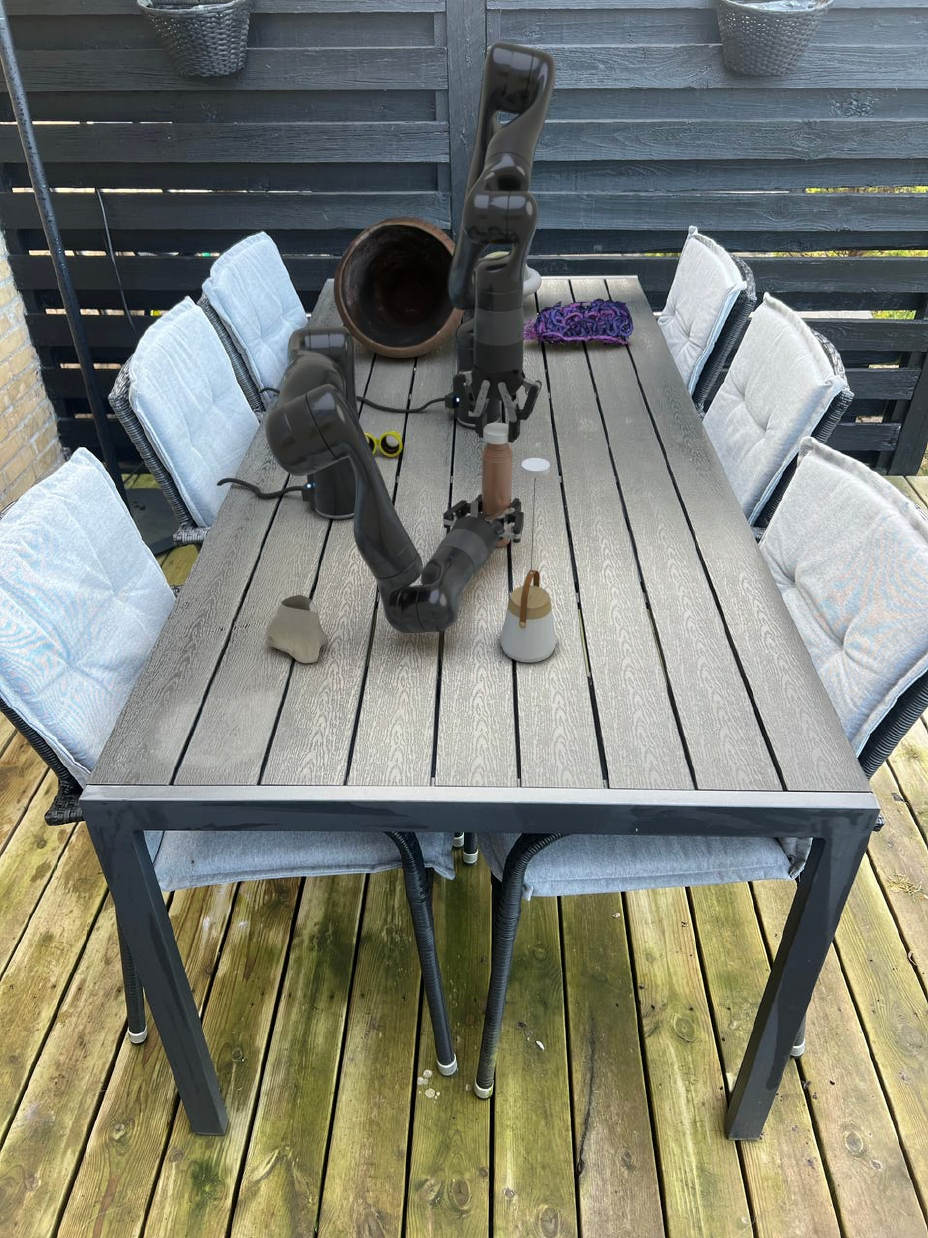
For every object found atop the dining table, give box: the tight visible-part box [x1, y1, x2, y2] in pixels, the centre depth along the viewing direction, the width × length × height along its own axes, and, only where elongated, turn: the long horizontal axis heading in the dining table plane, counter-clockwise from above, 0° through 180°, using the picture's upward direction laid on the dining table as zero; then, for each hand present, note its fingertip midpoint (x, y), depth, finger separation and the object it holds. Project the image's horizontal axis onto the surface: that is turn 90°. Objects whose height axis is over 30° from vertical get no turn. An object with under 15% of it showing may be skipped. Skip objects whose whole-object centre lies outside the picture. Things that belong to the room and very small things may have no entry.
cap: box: [482, 422, 509, 444], centre depth 149 cm, size 5×5×2 cm
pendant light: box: [499, 457, 557, 663], centre depth 128 cm, size 8×8×30 cm
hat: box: [483, 251, 543, 302], centre depth 248 cm, size 25×22×15 cm
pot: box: [333, 215, 466, 359], centre depth 229 cm, size 32×32×30 cm
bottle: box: [481, 442, 513, 548], centre depth 155 cm, size 5×5×20 cm
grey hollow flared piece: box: [265, 594, 328, 664], centre depth 135 cm, size 9×8×10 cm
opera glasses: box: [364, 430, 403, 458], centre depth 185 cm, size 10×5×5 cm, turn 95°
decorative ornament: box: [524, 298, 634, 347], centre depth 229 cm, size 13×11×30 cm
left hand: (501, 499), depth 159 cm, fingers closed on bottle, 5 cm apart
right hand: (497, 437), depth 149 cm, fingers closed on cap, 4 cm apart
